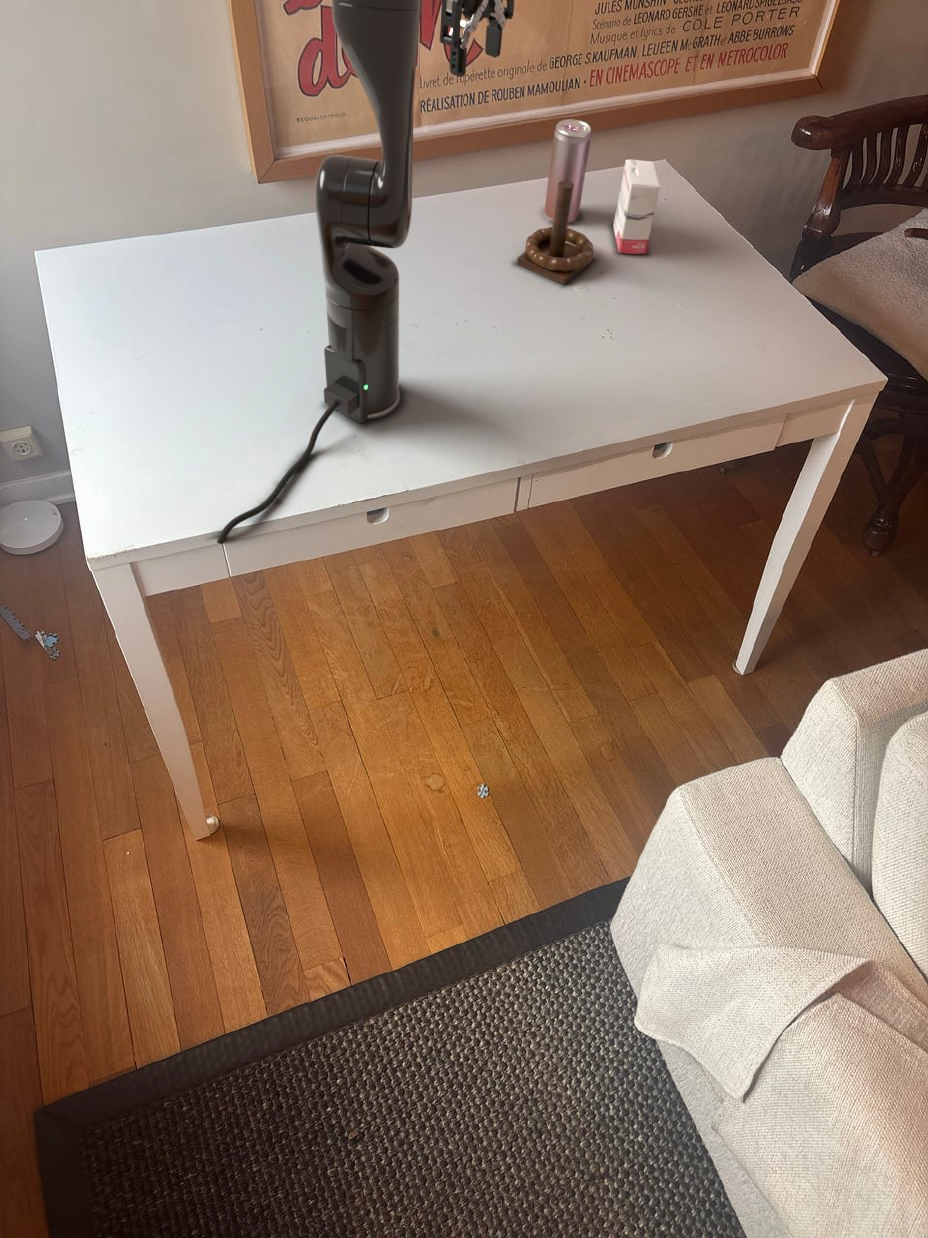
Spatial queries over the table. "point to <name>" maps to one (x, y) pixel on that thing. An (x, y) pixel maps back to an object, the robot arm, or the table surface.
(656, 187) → the ink box
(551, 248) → the post
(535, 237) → the ring
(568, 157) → the beverage can
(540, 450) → the table surface
